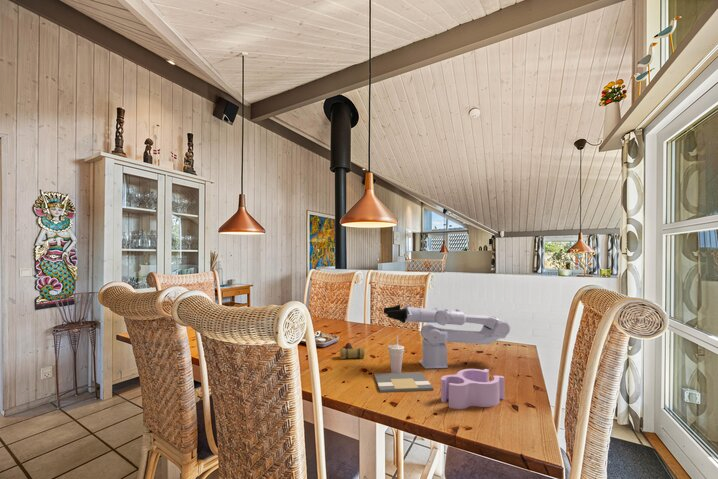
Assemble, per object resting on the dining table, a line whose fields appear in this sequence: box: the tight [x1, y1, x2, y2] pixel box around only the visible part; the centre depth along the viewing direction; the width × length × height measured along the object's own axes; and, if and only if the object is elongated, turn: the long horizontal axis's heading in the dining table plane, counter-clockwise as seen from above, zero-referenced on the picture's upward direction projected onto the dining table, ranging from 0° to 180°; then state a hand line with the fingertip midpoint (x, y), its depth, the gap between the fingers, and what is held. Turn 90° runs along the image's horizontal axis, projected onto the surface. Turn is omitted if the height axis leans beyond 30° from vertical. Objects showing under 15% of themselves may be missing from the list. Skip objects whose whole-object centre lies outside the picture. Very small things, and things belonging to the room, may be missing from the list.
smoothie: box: [387, 335, 405, 373], centre depth 122 cm, size 6×6×14 cm
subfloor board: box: [373, 371, 434, 393], centre depth 112 cm, size 18×14×1 cm
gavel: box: [339, 342, 365, 360], centre depth 147 cm, size 21×5×10 cm
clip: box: [440, 368, 505, 410], centre depth 100 cm, size 20×12×7 cm, turn 112°
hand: (385, 312), depth 129 cm, fingers open, 7 cm apart
